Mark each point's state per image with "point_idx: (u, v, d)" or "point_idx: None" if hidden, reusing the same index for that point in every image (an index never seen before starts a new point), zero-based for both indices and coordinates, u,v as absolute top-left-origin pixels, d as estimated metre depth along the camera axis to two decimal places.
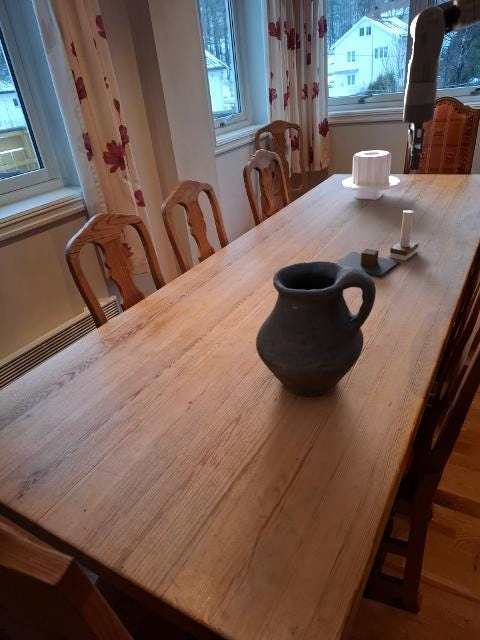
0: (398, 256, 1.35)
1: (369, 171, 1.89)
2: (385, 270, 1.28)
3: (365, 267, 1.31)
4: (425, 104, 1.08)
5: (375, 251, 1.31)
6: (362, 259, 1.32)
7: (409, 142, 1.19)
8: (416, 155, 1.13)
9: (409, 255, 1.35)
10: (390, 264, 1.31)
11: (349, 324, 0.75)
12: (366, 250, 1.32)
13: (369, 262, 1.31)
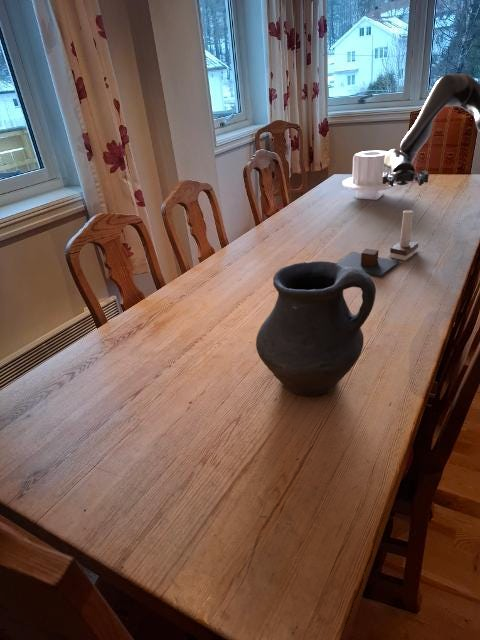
0: (398, 256, 1.35)
1: (369, 171, 1.89)
2: (385, 270, 1.28)
3: (365, 267, 1.31)
4: (391, 169, 1.50)
5: (375, 251, 1.31)
6: (362, 259, 1.32)
7: (413, 182, 1.42)
8: (387, 180, 1.42)
9: (409, 255, 1.35)
10: (390, 264, 1.31)
11: (349, 324, 0.75)
12: (366, 250, 1.32)
13: (369, 262, 1.31)
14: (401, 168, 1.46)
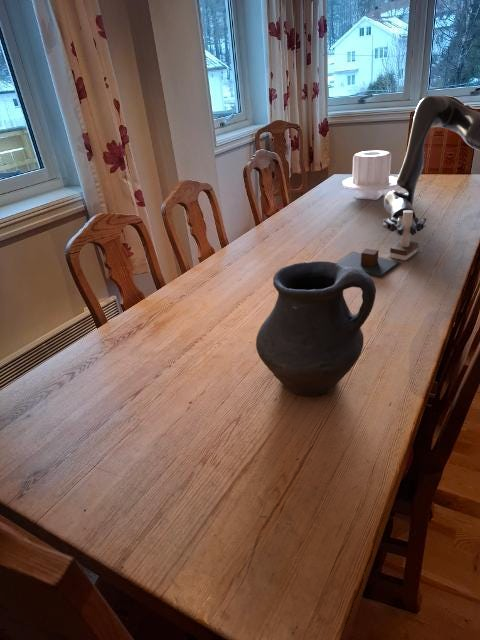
0: (398, 256, 1.35)
1: (369, 171, 1.89)
2: (385, 270, 1.28)
3: (365, 267, 1.31)
4: (391, 213, 1.46)
5: (375, 251, 1.31)
6: (362, 259, 1.32)
7: None
8: (396, 228, 1.35)
9: (409, 255, 1.35)
10: (390, 264, 1.31)
11: (349, 324, 0.75)
12: (366, 250, 1.32)
13: (369, 262, 1.31)
14: (401, 213, 1.41)
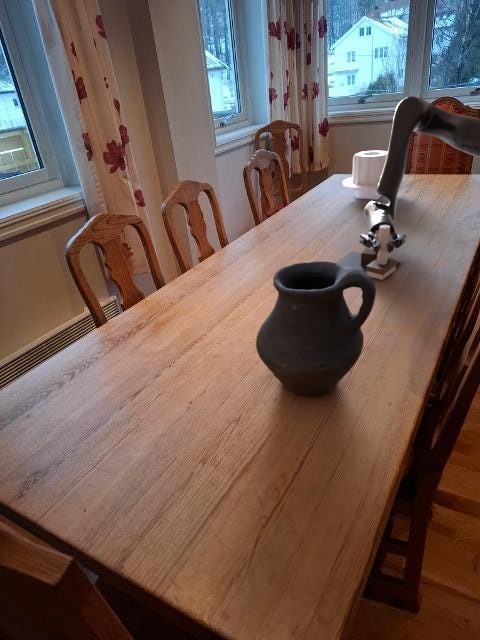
0: (374, 275, 1.24)
1: (369, 171, 1.89)
2: None
3: (365, 267, 1.31)
4: (369, 226, 1.34)
5: (375, 251, 1.31)
6: (362, 259, 1.32)
7: None
8: (372, 244, 1.24)
9: (386, 274, 1.24)
10: None
11: (349, 324, 0.75)
12: (366, 250, 1.32)
13: (369, 262, 1.31)
14: (379, 227, 1.29)
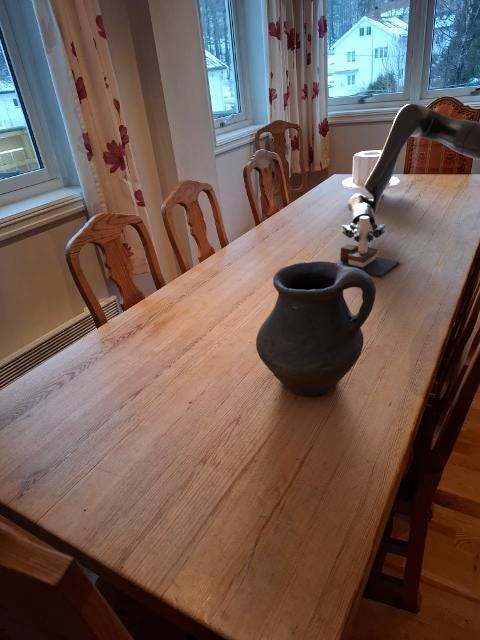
0: (355, 263, 1.32)
1: (369, 171, 1.89)
2: (385, 270, 1.28)
3: (365, 267, 1.31)
4: (352, 218, 1.42)
5: (354, 247, 1.35)
6: (341, 254, 1.37)
7: None
8: (353, 234, 1.32)
9: (367, 262, 1.32)
10: (390, 264, 1.31)
11: (349, 324, 0.75)
12: (346, 245, 1.37)
13: None
14: None
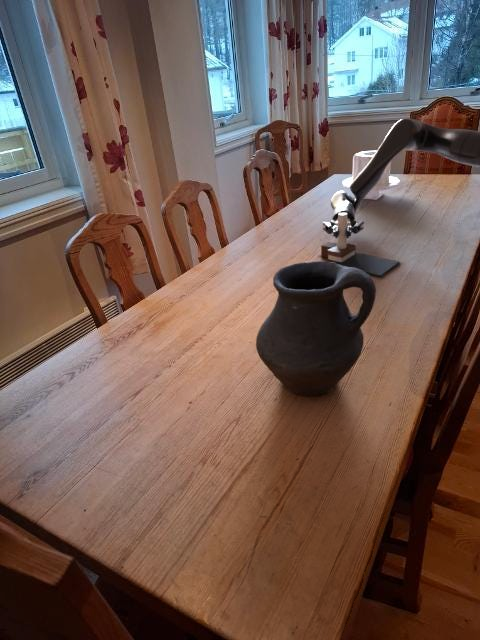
0: (335, 258, 1.37)
1: None
2: (385, 270, 1.28)
3: (365, 267, 1.31)
4: None
5: (334, 244, 1.40)
6: (322, 251, 1.42)
7: None
8: (332, 230, 1.37)
9: (346, 257, 1.37)
10: (390, 264, 1.31)
11: (349, 324, 0.75)
12: (327, 243, 1.42)
13: None
14: None
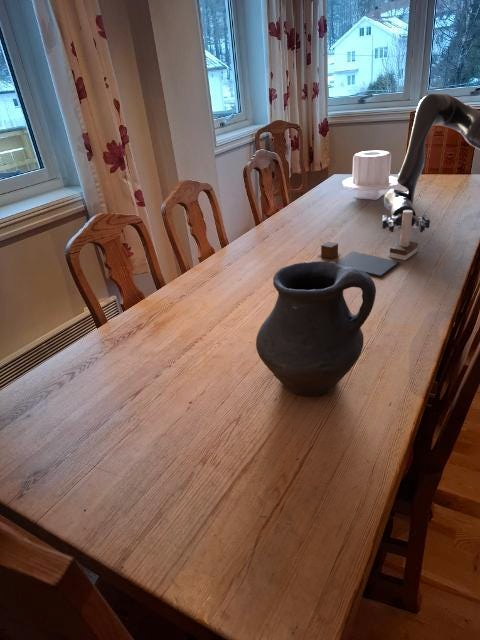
0: (398, 256, 1.35)
1: (369, 171, 1.89)
2: (385, 270, 1.28)
3: (365, 267, 1.31)
4: (392, 211, 1.45)
5: (334, 244, 1.40)
6: (322, 251, 1.42)
7: (414, 227, 1.37)
8: (387, 225, 1.37)
9: (409, 255, 1.36)
10: (390, 264, 1.31)
11: (349, 324, 0.75)
12: (327, 243, 1.42)
13: (328, 254, 1.41)
14: (401, 211, 1.41)
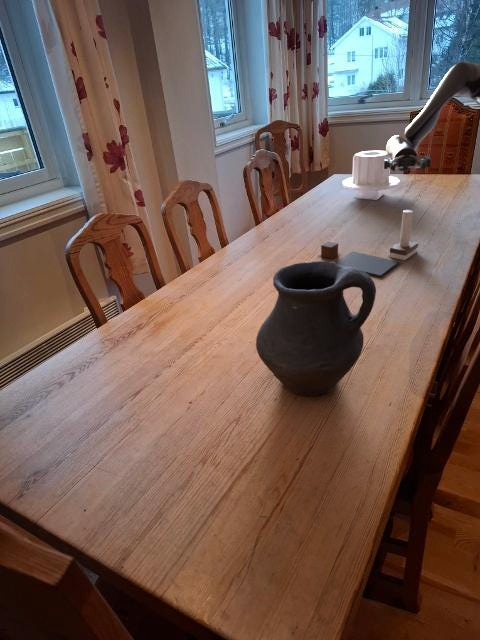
0: (398, 256, 1.35)
1: (369, 171, 1.89)
2: (385, 270, 1.28)
3: (365, 267, 1.31)
4: (393, 154, 1.48)
5: (334, 244, 1.40)
6: (322, 251, 1.42)
7: (415, 167, 1.40)
8: (389, 165, 1.39)
9: (409, 255, 1.36)
10: (390, 264, 1.31)
11: (349, 324, 0.75)
12: (327, 243, 1.42)
13: (328, 254, 1.41)
14: (403, 153, 1.44)
